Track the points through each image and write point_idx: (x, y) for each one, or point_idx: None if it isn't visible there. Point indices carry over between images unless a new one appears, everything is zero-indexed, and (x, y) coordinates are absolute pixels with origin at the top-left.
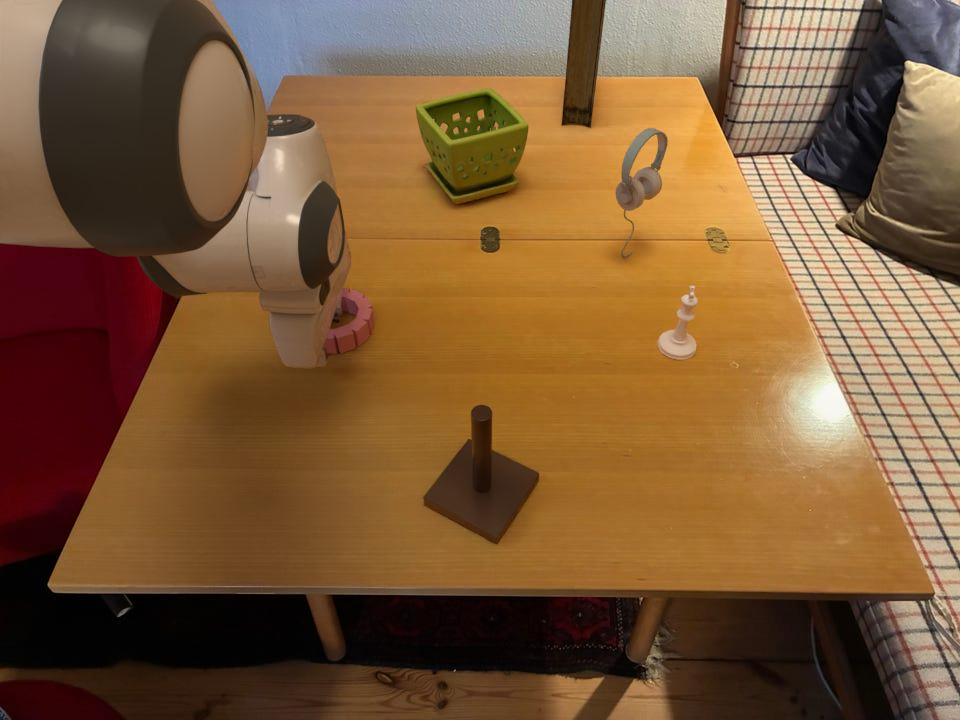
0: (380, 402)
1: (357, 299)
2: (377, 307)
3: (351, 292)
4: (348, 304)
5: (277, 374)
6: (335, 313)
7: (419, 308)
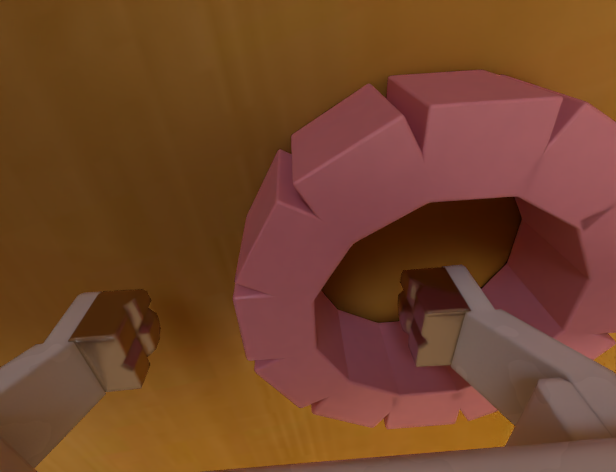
0: (100, 424)
1: None
2: None
3: (589, 346)
4: (525, 307)
5: (23, 66)
6: (417, 350)
7: (485, 421)
